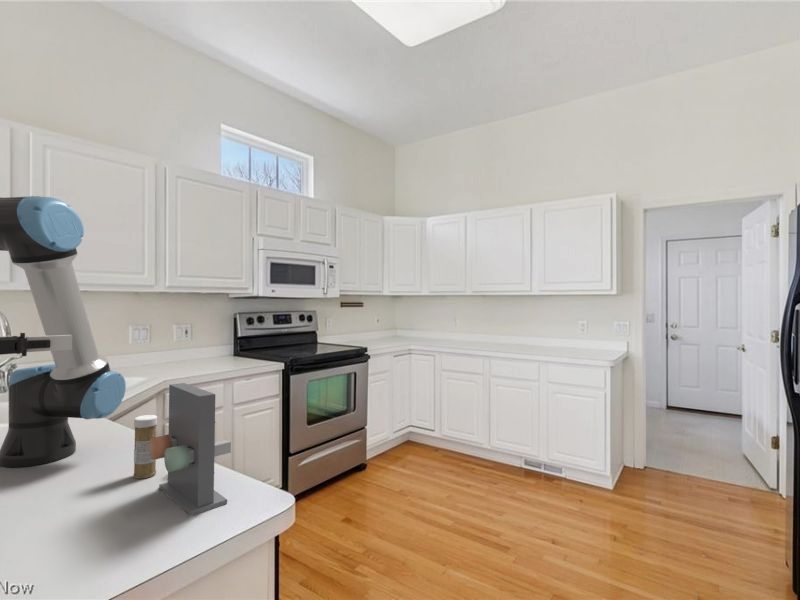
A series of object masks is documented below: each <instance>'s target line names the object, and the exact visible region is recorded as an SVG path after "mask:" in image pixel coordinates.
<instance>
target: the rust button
mask: <svg viewBox="0 0 800 600" xmlns="http://www.w3.org/2000/svg"><path fill="white" fill-rule="evenodd" d="M176 446H177V438H175V437H173V438H171V437H170V436H169V434H164V435H158V436H156V437H153V438H151V439H150V441H149V453H150V457H151V459H152V460H159V459H164V455H165V451H166V449H167V448H171V447H176Z"/></svg>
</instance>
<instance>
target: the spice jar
mask: <svg viewBox="0 0 800 600" xmlns="http://www.w3.org/2000/svg"><path fill="white" fill-rule="evenodd" d="M157 425H158V416H157V415H155V414H145V415H144V414H142V415H139V416H137V417H135V418H134V422H133V427H134V450H133V463H134V464H133V465H134V466H133V470H134V471H133V478H134V479H148V478H151V477H153V476H154V475H156V474H157V470H156V462H157V461H156V460H157V459H156V460H152V459H151V457H150V453H149V441H150V439H151V438H153V437H157Z"/></svg>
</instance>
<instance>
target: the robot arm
mask: <svg viewBox="0 0 800 600" xmlns="http://www.w3.org/2000/svg"><path fill="white" fill-rule="evenodd" d="M84 234H85V230H84V224H83V222H82V219H81V218H80V215H79V214H78V213H77V211H76V210H75V209H74V208H73V207H72V206H71V205H69V204H67V203H66V202H64V201H63V200H61V199H59V198H56V197H50V196H40V195H31V196H15V197H13V196H10V197H0V251H2V252H4V251H5V252H8V254H9V256H10V260H11V263H12V264H13V265H15V266H17V267H19V268H21V269H23V270H24V273H25V276H26V279H27V282H28V285H29V286H28V287H29V288H30V292H31V295H32V297H33V301H34V304H35V307H36V310H37V315H38V317H39V320H40V322H41V325H42V326H41V327H42V328H43V331H44V335H29V336H26V332H20V333H19V336H17V335H13V336H0V355H1V356H2V355H12V354H14V355H20V354H21V357H27V355H28V354H27V353H36V352H50V353H51V356H52V359H53V362H54V364H53V363H52V364H45V365H38V366H37V365H36V366H31V367H24V368H18V369H15V370H14V371H12V372H11V373H10V376H9V384H8V386H7V387H8V388H7V389H8V427H7V428H8V429H7V433H6V435H5V438H4V440H3V442H2V444H1V447H0V467H8V468H21V467H31V466H37V465H38V466H39V465H44V464H47V463H52V462H55V461H58V460H62V459H65V458H68V457H69V456H71V455H73V454H74V453H75V452H76V450H77V449H76V448H77V442H76V438H75V436H74V434H73V431H72V429H71V426H70V424H69V418H71V419H74V418H75V419H84V420H93V419H96V420H97V419H104V418H108V416H111V415H112V414H113V413H114V412H115V411H116V410H117V409H118V408H119V407H120V405H121V404H122V401H123V399H124V397H125V394H126V389H127V386H126V385H127V384H126V380H125V377H124V375H123V374H121V373H119V372H118V371H116V370H114V371H113V370H111V368H110V365H109V361H108V359H107V358H106V357H105V356H103V355H100V354H99V352H98V349H97V345H96V342H95V338H94V335H93V332H92V328H91V325H90V322H89V317H88V314H87V310H86V307H85V303H84V299H83V296H82V294H81V291H80V287H79V283H78V279H77V277H76V273H75V269H74V265H73V261H74V260H75V259H76V258H77V256H78V252H77V248H78V247H79V246H80V245H81V244H82V241H83V239H82V238H83V237H84Z"/></svg>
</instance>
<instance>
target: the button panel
mask: <svg viewBox="0 0 800 600" xmlns="http://www.w3.org/2000/svg"><path fill="white" fill-rule="evenodd" d="M168 387H169V389H168V393H169V394H168V435H169V436H170V437H171V438H173V437H175V438H177V446H181V445H186V446H187V448H191V447H192V448H194V449H195V453H194V462H191V463H189V466H188V467H187V468H185V469H181V470H177V471H173V472H168V471H167V482H163V483H159V485H158V488H159V489H160V490H161V491H162V492H163V493H164V494H165V495H166V494H167V495H166V496H168V498H170V499H171V500H172V501H173V502H174V501H175V502H176V503H175V502H174V503H175V504H177V505H178V506H179V507H180V508H181V510H184V512H185V513H187V514H188V515H189V516H194V514H195V515H197V513H198V514H201V513H203V512H206V511H209V510H213V509H214V508H217V507H221V506H224V505H227V504H228V498H226V497H225V496H224V495H222V494H221V493H219V492H218V491H216V490H215V457H214V449H215V442H216V436H215V435H216V432H215V431H216V430H215V429H216V424H215V423H216V394H215V393H213V392H210V391H208V390H205V389H202V388H199V387H196V386H194V385H192V384H191V385H190V384H188V383H185V382H181V383H173V384H172V383H171V384H169V386H168ZM200 512H201V513H200Z"/></svg>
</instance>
